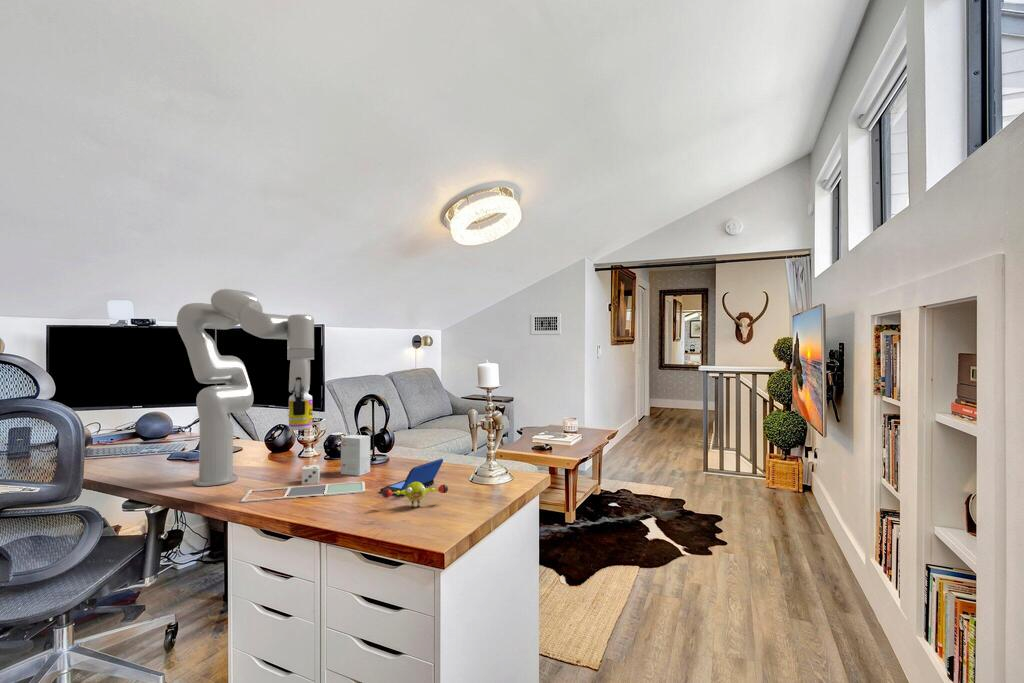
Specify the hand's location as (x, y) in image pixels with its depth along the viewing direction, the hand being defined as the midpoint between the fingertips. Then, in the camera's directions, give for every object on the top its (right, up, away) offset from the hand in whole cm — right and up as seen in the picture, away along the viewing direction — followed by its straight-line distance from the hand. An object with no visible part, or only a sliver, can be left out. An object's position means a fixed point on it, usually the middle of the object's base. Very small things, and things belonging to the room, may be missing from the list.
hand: (300, 413), depth 149 cm
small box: (+9, -25, +24) cm, 36 cm away
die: (-2, -25, +12) cm, 27 cm away
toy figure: (+38, -24, -14) cm, 47 cm away
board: (+2, -24, 0) cm, 24 cm away
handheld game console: (+33, -25, +3) cm, 42 cm away
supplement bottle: (0, -5, 0) cm, 5 cm away
